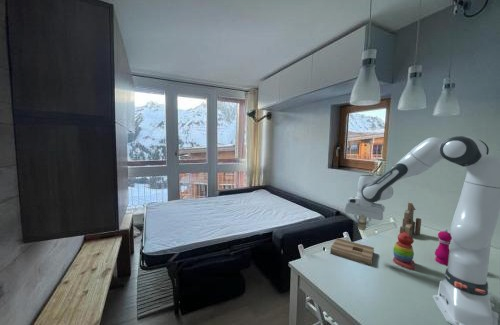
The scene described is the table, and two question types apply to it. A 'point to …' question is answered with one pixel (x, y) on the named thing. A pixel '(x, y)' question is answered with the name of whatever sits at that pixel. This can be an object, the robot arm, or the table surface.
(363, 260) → the board
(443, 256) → the pepper mill
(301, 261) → the table surface
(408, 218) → the wooden toy
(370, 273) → the table surface
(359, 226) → the peg
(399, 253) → the stacking bear
